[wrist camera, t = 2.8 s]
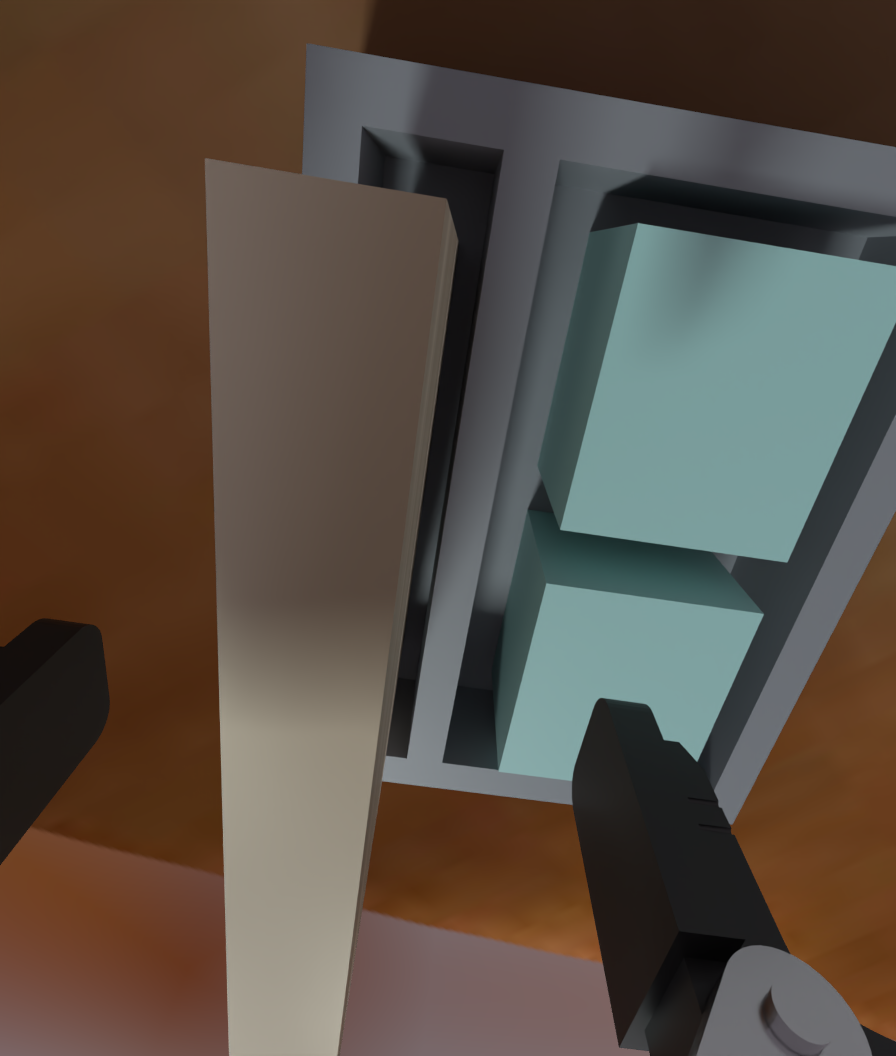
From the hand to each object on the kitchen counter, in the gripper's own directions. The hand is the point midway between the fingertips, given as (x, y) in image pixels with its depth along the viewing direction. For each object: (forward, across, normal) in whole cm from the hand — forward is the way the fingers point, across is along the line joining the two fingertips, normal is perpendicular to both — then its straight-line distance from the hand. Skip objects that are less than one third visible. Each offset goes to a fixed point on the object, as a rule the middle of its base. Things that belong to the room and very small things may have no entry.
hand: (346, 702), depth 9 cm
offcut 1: (+11, -7, -4) cm, 14 cm away
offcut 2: (+11, -7, +4) cm, 14 cm away
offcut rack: (+12, -5, 0) cm, 13 cm away
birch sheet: (+11, 0, 0) cm, 11 cm away
